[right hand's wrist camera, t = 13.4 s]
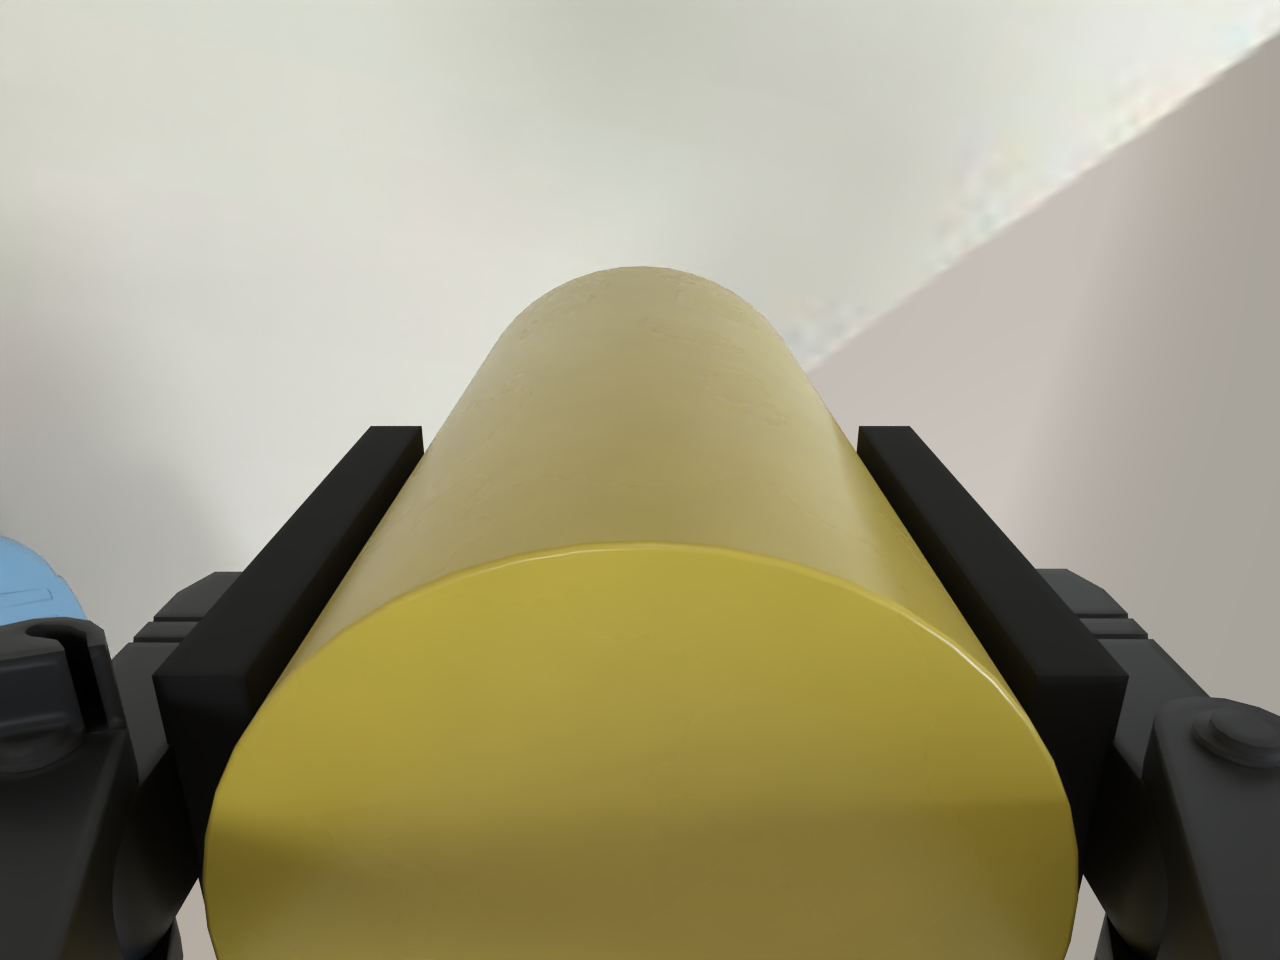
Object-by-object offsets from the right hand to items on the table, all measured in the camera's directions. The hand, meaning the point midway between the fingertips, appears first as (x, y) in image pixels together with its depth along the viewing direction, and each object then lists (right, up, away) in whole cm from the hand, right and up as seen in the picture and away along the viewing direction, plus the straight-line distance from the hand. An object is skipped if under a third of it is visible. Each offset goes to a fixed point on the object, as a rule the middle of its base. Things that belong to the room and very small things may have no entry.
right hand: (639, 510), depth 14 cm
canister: (0, +1, +4) cm, 4 cm away
